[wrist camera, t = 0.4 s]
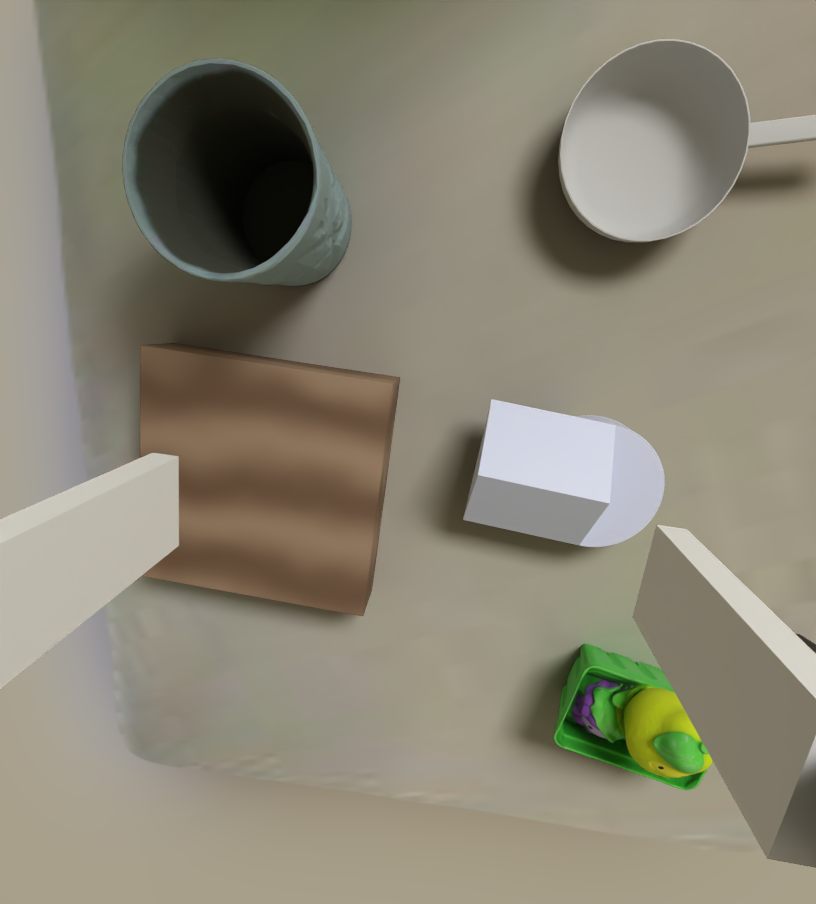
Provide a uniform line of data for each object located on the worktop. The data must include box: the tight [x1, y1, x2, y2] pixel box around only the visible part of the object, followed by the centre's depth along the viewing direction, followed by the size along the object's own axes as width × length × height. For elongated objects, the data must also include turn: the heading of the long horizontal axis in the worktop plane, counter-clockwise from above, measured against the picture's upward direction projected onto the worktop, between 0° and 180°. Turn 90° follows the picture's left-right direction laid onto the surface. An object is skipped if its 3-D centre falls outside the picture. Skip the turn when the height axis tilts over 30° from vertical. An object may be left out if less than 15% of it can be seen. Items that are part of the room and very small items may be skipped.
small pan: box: [558, 39, 816, 242], centre depth 32 cm, size 11×18×4 cm, turn 94°
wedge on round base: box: [463, 399, 665, 547], centre depth 36 cm, size 9×7×13 cm
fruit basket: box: [554, 644, 713, 790], centre depth 38 cm, size 11×9×11 cm
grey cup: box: [123, 58, 352, 286], centre depth 31 cm, size 10×10×12 cm
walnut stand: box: [140, 343, 400, 616], centre depth 40 cm, size 18×18×4 cm
